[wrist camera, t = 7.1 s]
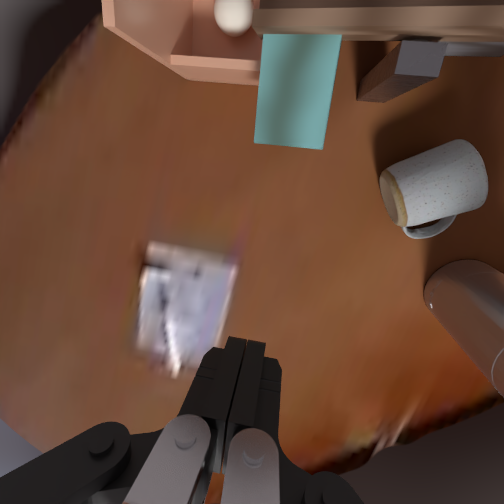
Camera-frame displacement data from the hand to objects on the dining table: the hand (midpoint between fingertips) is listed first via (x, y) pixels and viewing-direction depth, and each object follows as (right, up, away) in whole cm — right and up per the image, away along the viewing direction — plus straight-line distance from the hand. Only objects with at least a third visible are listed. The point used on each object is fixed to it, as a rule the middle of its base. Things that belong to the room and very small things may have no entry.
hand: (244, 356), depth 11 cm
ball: (-2, +28, +17) cm, 33 cm away
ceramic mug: (+21, +12, +23) cm, 33 cm away
